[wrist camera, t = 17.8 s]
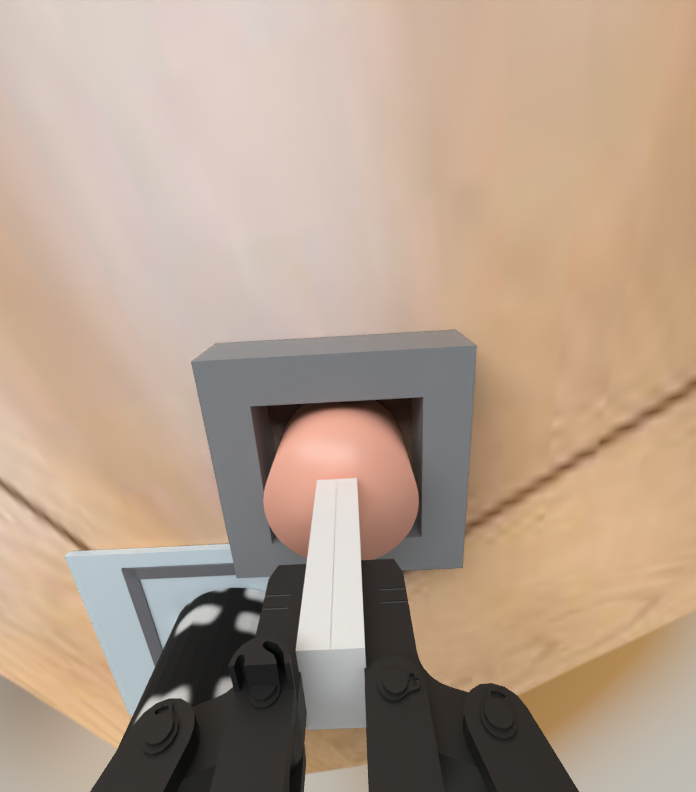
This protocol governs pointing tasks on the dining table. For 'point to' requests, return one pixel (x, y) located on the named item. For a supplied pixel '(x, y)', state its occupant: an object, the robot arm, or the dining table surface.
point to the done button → (342, 473)
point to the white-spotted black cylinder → (202, 648)
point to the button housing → (335, 382)
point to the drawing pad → (146, 601)
